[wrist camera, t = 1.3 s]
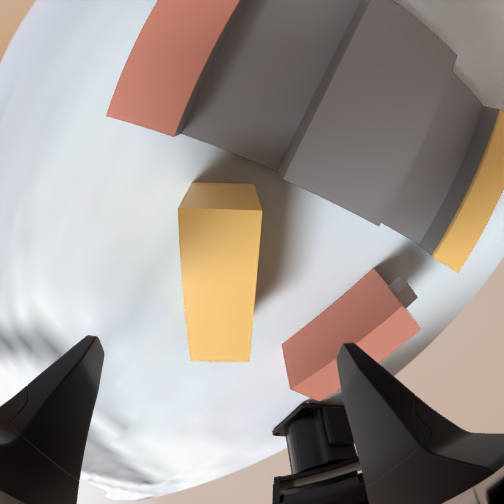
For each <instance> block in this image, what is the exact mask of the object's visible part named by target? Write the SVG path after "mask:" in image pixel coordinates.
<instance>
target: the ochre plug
mask: <svg viewBox="0 0 504 504" xmlns="http://www.w3.org/2000/svg"><path fill="white" fill-rule="evenodd" d="M178 222H179V243H180V260H181V274H182V286H183V298H184V308H185V318H186V327H187V336H188V344H189V352H190V360H191V361H216V362H249V359H250V348H251V337H252V326H253V315H254V303H255V292H256V281H257V269H258V258H259V246H260V234H261V222H262V208H261V204H260V201H259V198H258V194H257V191H256V188H255V185H254V184H238V183H198V182H192V184H191V185H190V187H189V189H188V191H187V193H186V194H185V196H184V198H183V200H182V202H181V204H180V206H179V208H178Z"/></svg>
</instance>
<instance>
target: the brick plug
mask: <svg viewBox="0 0 504 504" xmlns="http://www.w3.org/2000/svg"><path fill="white" fill-rule="evenodd" d="M417 298H418V297H417V296H416V294H415V293H414V291H413V290H412V289H411V287H410V286H409V285H408V283H407V282H406V281H405V280H404V279H403V277H402V276H401V275H399V276H398V277H397V278H396V279H395V280H394V281H393V282H392V283H391V284H389V285H388V284H387V283H386V282H385V280H384V279H383V278H382V277H381V276H380V275H379V274H378V272H377V271H376V270H375V269H374V268H373V269H372V270H371V271H369V272H368V273H367V274H366V275H365V276H364V277H363V278H362V279H361V280H360V281H358V282H357V283H356V284H355V285H354V286H353V287H352V288H351V289H349V290H348V291H347V292H346V293H345V294H344V295H342V296H341V297H340V298H339V299H338V300H337V301H335V302H334V303H333V304H332V305H331V306H329V307H328V308H327V309H326V310H325V311H323V312H322V313H321V314H320V315H319V316H317V317H316V318H315V319H314V320H312V321H311V322H310V323H309V324H307V325H306V326H305V327H304V328H302V329H301V330H300V331H299V332H297V333H296V334H295V335H293V336H292V337H291V338H289V339H288V340H287V341H286V342H284V343H283V344H282V349H283V354H284V359H285V365H286V370H287V375H288V380H289V385H290V389H291V390H293V391H296V392H298V393H300V394H303V395H305V396H307V397H310V398H312V399H315V400H317V401H322V400H323V399H325V398H327V397H328V396H330V395H332V394H333V393H335V392H336V391H338V390H340V389H341V386H340V380H339V374H338V368H337V356H338V353H339V351H340V348H341V346H342V344H343V343H347V342H353V343H355V344H356V345H357V346H359V347H360V348H361V349H362V350H363V351H364V352H366V353H367V354H368V355H369V356H370V357H371V358H373V359H374V360H375V361H376V362H377V363H379V362H380V361H382V360H383V359H384V358H386V357H387V356H388V355H389V354H391V353H392V352H393V351H395V350H396V349H397V348H398V347H400V346H401V345H402V344H403V343H405V342H406V341H407V340H408V339H410V338H411V337H412V336H413V335H414V334H415V333H417V332H418V331H419V330H420V329H421V328H420V327H419V325H418V324H417V323H416V321H415V320H414V318H413V317H412V315H411V314H410V313H409V311H408V310H407V307H408V306H409V305H410V304H411V303H412V302H413V301H414V300H416V299H417Z"/></svg>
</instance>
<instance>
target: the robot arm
mask: <svg viewBox="0 0 504 504" xmlns="http://www.w3.org/2000/svg"><path fill="white" fill-rule="evenodd" d="M103 361H104V350H103V348H102V345H101V343H100V340H99V338H98V337H97V336H91V335H88V336H86V337H85V338H84V339H82V340H81V341H80V342H79V343H77V344H76V345H75V346H74V347H72V348H71V349H70V350H69V351H67V352H66V353H65V354H64V355H63V356H61V357H60V358H59V359H58V360H57V361H55V362H54V363H53V364H52V365H51V366H49V367H48V368H47V369H46V370H45V371H43V372H42V373H41V374H40V375H39V376H37V377H36V378H35V379H34V380H33V381H32V382H30V383H29V384H28V386H26V387H24V388H23V389H22V390H21V391H20V392H19V393H17V394H16V395H15V396H14V397H13V398H11V399H10V400H9V401H7V402H6V403H5V404H3V405H2V406H0V504H77V495H78V488H79V480H80V473H81V467H82V461H83V456H84V450H85V445H86V440H87V436H88V431H89V427H90V422H91V418H92V414H93V410H94V406H95V402H96V398H97V394H98V390H99V384H100V378H101V372H102V366H103ZM337 368H338V374H339V380H340V386H341V392H342V398H343V402H344V405H345V406H333V405H319V404H308V403H306V404H302V405H301V406H299V407H298V408H297V409H296V410H295V411H294V412H293V413H292V414H291V415H290V416H289V417H287V418H286V419H285V420H284V421H283V422H282V423H281V424H280V425H279V426H277V427H276V428H275V429H274V430H273V431H272V432H273V435H274V436H286V441H287V447H288V454H289V460H290V466H291V473H292V475H288V476H282V477H281V476H278V477H274V484H273V504H504V434H485V433H470V432H467V431H465V430H463V429H461V428H459V427H458V426H456V425H455V424H454V423H452V422H451V421H449V420H448V419H446V418H445V417H443V416H442V415H440V414H439V413H437V412H436V411H434V410H433V409H432V408H431V407H429V406H428V405H427V404H426V403H424V402H423V401H422V400H421V399H420V398H418V397H417V396H415V394H414V393H412V392H411V391H410V390H409V389H408V388H407V387H405V386H404V385H403V384H402V383H401V382H400V381H398V380H397V379H396V378H395V377H394V376H393V375H391V374H390V373H389V372H388V371H387V370H386V369H384V368H383V367H382V366H381V365H380V364H379V363H377V362H376V361H375V360H374V359H373V358H371V357H370V356H369V355H368V354H367V353H366V352H364V351H363V350H362V349H361V348H360V347H359V346H357V345H356V344H355V343H353V342H347V343H343V344H342V346H341V348H340V351H339V353H338V356H337ZM354 443H355V446H356V450H357V453H356V450H355V447H354ZM357 454H358V456H357ZM360 470H362V473H360V474H358V472H357V471H360Z"/></svg>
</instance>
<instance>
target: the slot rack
mask: <svg viewBox="0 0 504 504" xmlns="http://www.w3.org/2000/svg"><path fill="white" fill-rule="evenodd" d="M456 57H457V55H456V54H455V53H454V52H453V51H452V50H451V49H450V48H449V47H448V46H447V45H446V44H445V43H444V42H443V41H442V40H441V39H440V38H439V37H438V36H436V35H435V34H434V33H433V32H432V31H431V30H430V29H429V28H427V27H426V26H425V25H424V24H423V23H422V22H420V21H419V20H418V19H417V18H415V17H414V16H413V15H412V14H410V13H409V12H408V11H406V10H405V9H404V8H402V7H401V6H400V5H398V4H397V3H396V2H394V1H393V0H158V1H157V3H156V4H155V6H154V8H153V10H152V11H151V13H150V15H149V17H148V19H147V20H146V22H145V24H144V26H143V28H142V30H141V32H140V34H139V36H138V38H137V40H136V42H135V44H134V46H133V48H132V51H131V53H130V55H129V57H128V60H127V62H126V64H125V66H124V69H123V71H122V74H121V76H120V79H119V81H118V84H117V86H116V89H115V92H114V94H113V97H112V100H111V103H110V106H109V109H108V112H107V115H106V116H108V117H111V118H115V119H118V120H122V121H125V122H129V123H132V124H135V125H139V126H142V127H145V128H148V129H152V130H155V131H158V132H161V133H164V134H167V135H170V136H173V137H174V136H177V135H179V134H183V135H186V136H189V137H192V138H195V139H197V140H200V141H203V142H206V143H208V144H211V145H214V146H216V147H219V148H222V149H224V150H227V151H229V152H232V153H234V154H237V155H239V156H242V157H244V158H247V159H249V160H252V161H254V162H256V163H259V164H261V165H264V166H266V167H268V168H271V169H273V170H275V171H277V172H278V174H279V175H280V176H281V178H282V179H283V180H285V181H287V182H290V183H292V184H294V185H296V186H299V187H301V188H303V189H305V190H307V191H309V192H312V193H314V194H316V195H318V196H320V197H322V198H324V199H326V200H328V201H330V202H332V203H334V204H336V205H338V206H341V207H343V208H345V209H346V210H348V211H350V212H352V213H354V214H356V215H358V216H360V217H362V218H364V219H366V220H368V221H370V222H372V223H373V224H375V225H377V226H379V225H380V223H383V224H384V225H386V226H388V227H390V228H391V229H393V230H395V231H397V232H398V233H400V234H402V235H404V236H405V237H407V238H409V239H410V240H412V241H414V242H416V243H417V244H419V245H420V246H421V247H422V248H423V249H424V250H426V251H427V252H428V253H429V254H430V255H431V256H432V257H433V258H435V259H436V260H438V261H440V262H441V263H443V264H444V265H446V266H448V267H449V268H451V269H452V270H454V271H456V272H457V273H459V271H460V270H461V268H462V266H463V265H464V263H465V262H466V260H467V258H468V257H469V255H470V253H471V252H472V250H473V248H474V247H475V245H476V243H477V241H478V239H479V238H480V236H481V234H482V232H483V230H484V228H485V227H486V225H487V223H488V221H489V219H490V217H491V215H492V213H493V211H494V209H495V207H496V204H497V202H498V200H499V198H500V196H501V194H502V191H503V189H504V112H503V110H500V109H495V108H489V107H484V106H483V105H482V104H481V102H480V101H479V100H478V99H477V98H476V96H475V95H474V94H473V93H472V92H471V91H470V89H469V88H468V87H467V86H466V85H465V84H464V83H463V82H462V81H461V80H460V79H459V77H458V76H457V75H456V74H455V73H454V72H453V71H452V69H453V66H454V63H455V61H456Z"/></svg>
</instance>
